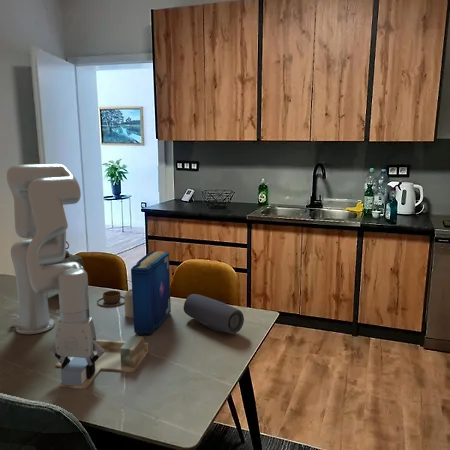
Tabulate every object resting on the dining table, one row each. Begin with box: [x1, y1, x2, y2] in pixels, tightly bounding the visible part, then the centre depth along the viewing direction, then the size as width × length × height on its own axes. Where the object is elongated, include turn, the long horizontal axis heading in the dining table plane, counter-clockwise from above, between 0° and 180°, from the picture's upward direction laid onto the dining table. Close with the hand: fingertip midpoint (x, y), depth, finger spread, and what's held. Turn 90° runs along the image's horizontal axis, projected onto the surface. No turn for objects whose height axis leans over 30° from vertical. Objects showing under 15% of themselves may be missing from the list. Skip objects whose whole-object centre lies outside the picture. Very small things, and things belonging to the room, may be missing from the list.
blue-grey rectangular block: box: [60, 357, 96, 386], centre depth 122 cm, size 6×9×4 cm, turn 172°
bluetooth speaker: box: [183, 293, 245, 335], centre depth 156 cm, size 23×9×10 cm, turn 45°
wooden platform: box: [55, 335, 150, 390], centre depth 128 cm, size 24×24×6 cm
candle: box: [123, 288, 134, 319], centre depth 166 cm, size 6×6×10 cm
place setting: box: [96, 290, 125, 308], centre depth 178 cm, size 18×20×6 cm
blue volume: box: [130, 250, 172, 336], centre depth 156 cm, size 22×7×25 cm, turn 168°
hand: (78, 374), depth 122 cm, fingers open, 6 cm apart
